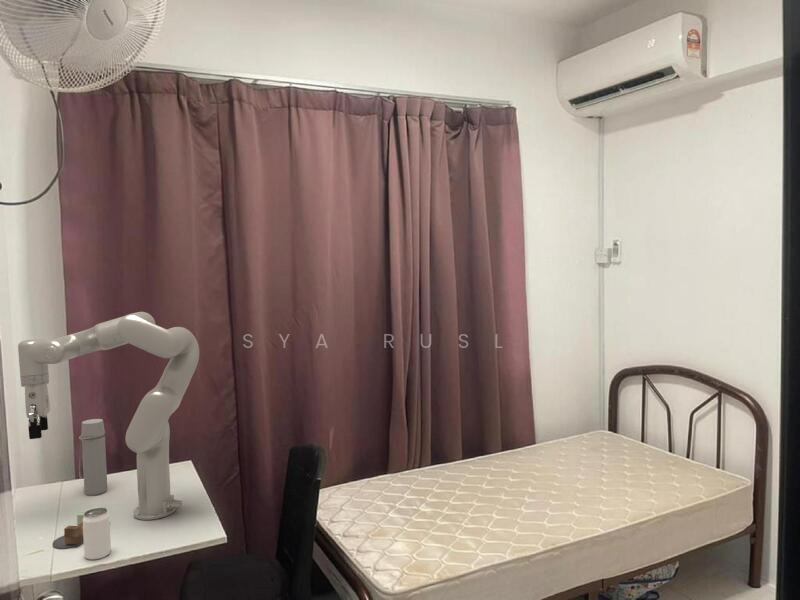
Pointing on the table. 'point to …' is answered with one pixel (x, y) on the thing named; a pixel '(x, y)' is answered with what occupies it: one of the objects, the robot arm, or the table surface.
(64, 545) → the pad
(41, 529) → the table surface
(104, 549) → the can
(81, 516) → the block
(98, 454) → the water bottle
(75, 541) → the bar
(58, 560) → the table surface
